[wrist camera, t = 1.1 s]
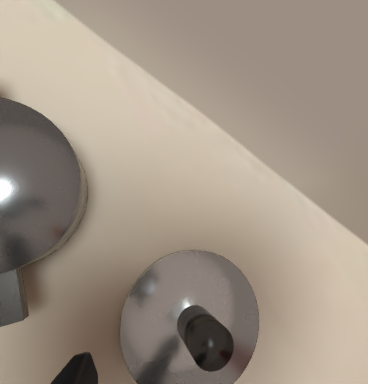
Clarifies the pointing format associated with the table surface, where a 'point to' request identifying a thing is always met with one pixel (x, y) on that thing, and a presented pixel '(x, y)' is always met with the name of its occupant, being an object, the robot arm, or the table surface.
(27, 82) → the table surface
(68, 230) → the pot
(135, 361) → the lid
